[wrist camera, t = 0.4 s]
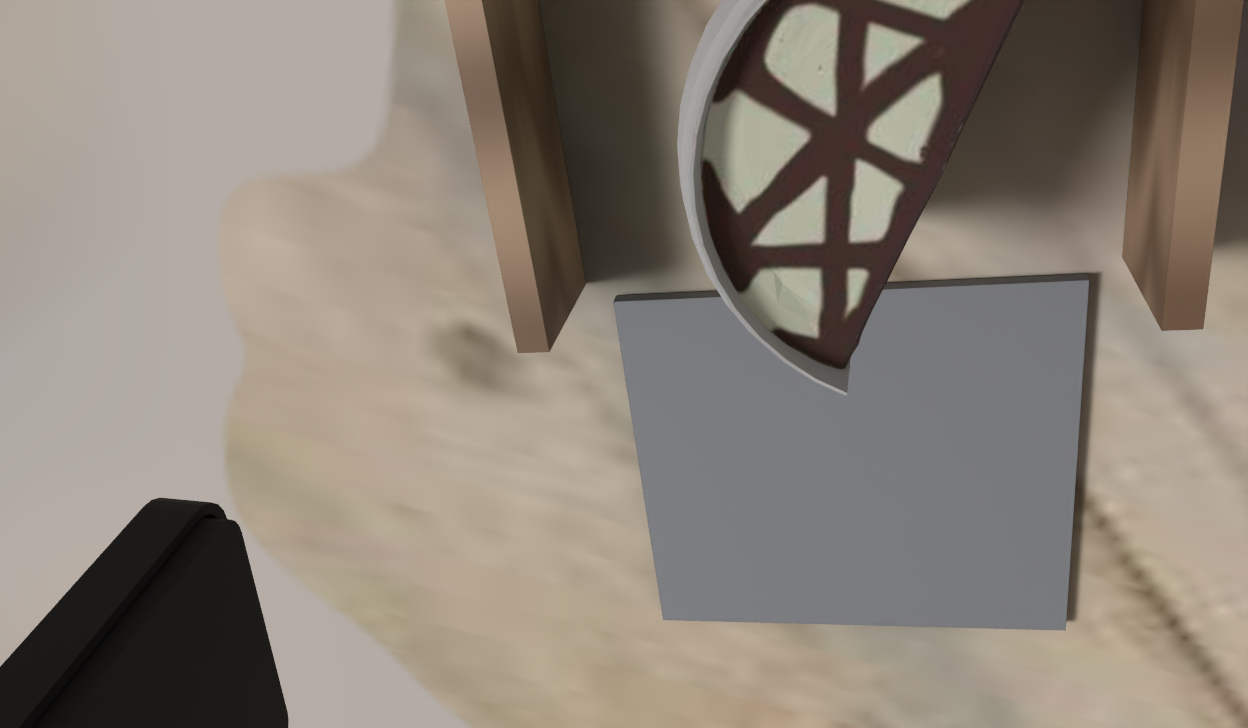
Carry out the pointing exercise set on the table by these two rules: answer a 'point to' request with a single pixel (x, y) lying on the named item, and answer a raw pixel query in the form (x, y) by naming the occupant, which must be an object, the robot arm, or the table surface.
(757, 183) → the food container
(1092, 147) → the table surface
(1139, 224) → the open side box
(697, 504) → the gray mat
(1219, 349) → the table surface
